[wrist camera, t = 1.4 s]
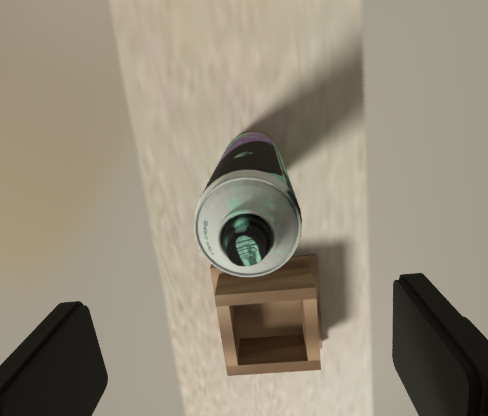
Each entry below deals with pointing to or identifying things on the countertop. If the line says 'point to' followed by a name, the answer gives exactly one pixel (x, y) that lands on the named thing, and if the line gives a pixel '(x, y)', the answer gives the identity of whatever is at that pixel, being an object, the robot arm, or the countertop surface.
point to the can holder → (270, 318)
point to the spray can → (248, 210)
